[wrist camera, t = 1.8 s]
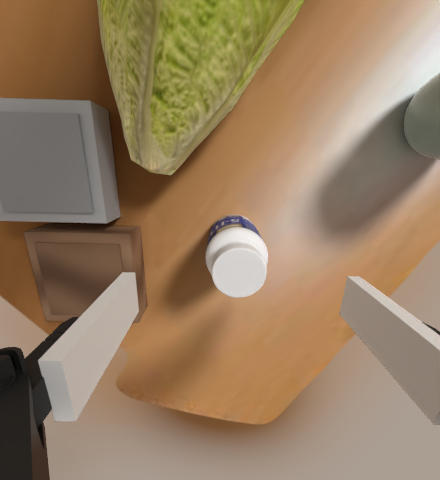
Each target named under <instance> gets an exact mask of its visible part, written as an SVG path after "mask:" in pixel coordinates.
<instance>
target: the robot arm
mask: <svg viewBox="0 0 440 480" xmlns="http://www.w3.org/2000/svg"><path fill="white" fill-rule="evenodd" d="M138 312H139V307H138V296H137V286H136V276H135V272H122V273H121V274H120V275H119V277H118V278H117V279H116V280H115V281H114V282H113V283H112V284H111V285H110V286H109V287H108V288H107V289H106V290H105V291H104V292H103V293H102V294H101V295H100V296H99V297H98V298H97V299H96V301H95V302H94V303H93V304H92V305H91V306H90V307H89V308H88V309H87V310H86V311H85V312H84V313H83V314H82V315H81V316H80V317H72V318H70V319H68V320H67V321H65V322H63V323H62V324H60V325H59V326H58V327H57V328H56V329H55V330H54V331H53V333H52V334H50V335H49V336H48V337H47V338H46V339H45V341H43V342H42V343H41V344H40V345H39V346H38V347H37V348H36V349H35V350H33V351H32V353H30V354H29V355H28V356H27V357H26V358H25V359H24V355H23V352H22V350H21V349H20V348H17V347H8V348H3V349H0V480H50V478H49V469H48V457H47V447H46V437H45V427H44V423H43V421H44V419H45V418H46V416H47V415H48V414H49V412H50V411H51V410H52V414H53V418H54V421H64V422H66V421H67V422H69V421H70V422H76V420H77V418H78V417H79V415H80V413H81V412H82V410H83V408H84V407H85V405H86V403H87V401H88V400H89V398H90V396H91V394H92V392H93V390H94V389H95V387H96V385H97V384H98V382H99V380H100V378H101V377H102V375H103V373H104V372H105V370H106V368H107V366H108V365H109V362H110V361H111V359H112V358H113V356H114V354H115V352H116V351H117V349H118V347H119V345H120V344H121V342H122V340H123V338H124V337H125V335H126V333H127V331H128V330H129V328H130V326H131V324H132V323H133V321H134V319H135V317H136V316H137V314H138ZM340 316H341V317H342V318H343V319H344V320H345V322H346V323H347V324H348V325H349V326H350V327H351V329H352V330H353V331H354V332H355V333H356V334H357V336H358V337H359V338H360V339H361V340H362V341H363V343H364V344H365V345H366V346H367V347H368V348H369V349H370V351H371V352H372V353H373V354H374V355H375V356H376V358H377V359H378V360H379V361H380V362H381V363H382V365H383V366H384V367H385V368H386V369H387V370H388V372H389V373H390V374H391V375H392V376H393V378H394V379H395V380H396V381H397V382H398V383H399V385H400V386H401V387H402V388H403V389H404V390H405V391H406V393H407V394H408V395H409V396H410V397H411V399H412V400H413V401H414V402H415V403H416V404H417V406H418V407H419V408H420V409H421V410H422V412H423V413H424V414H425V415H426V416H427V417H428V418H429V420H430V421H431V422H432V423H433V424H435V425H440V332H439V331H438V330H436V329H435V328H433V327H431V326H429V325H427V324H425V323H423V322H421V321H420V320H418V319H417V318H415V317H414V316H413V315H411V314H410V313H409V312H407V311H406V310H405V309H403V308H402V307H400V306H399V305H398V304H396V303H395V302H393V301H392V300H391V299H390V298H388V297H387V296H385V295H384V294H383V293H381V292H380V291H379V290H377V289H376V288H375V287H373V286H372V285H370V284H369V283H368V282H366V281H365V280H364V279H362V278H361V277H358V276H347V281H346V285H345V290H344V295H343V300H342V304H341V309H340Z"/></svg>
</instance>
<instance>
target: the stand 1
mask: <svg viewBox="0 0 440 480" xmlns="http://www.w3.org/2000/svg"><path fill="white" fill-rule="evenodd" d="M119 217H121V216H120V207H119V198H118V190H117V181H116V173H115V164H114V155H113V147H112V138H111V129H110V121H109V112H108V110H107V109H105V108H103V107H101V106H100V105H98V104H96V103H94V102H92V101H90V100H54V99H18V98H0V221H24V222H68V223H109V222H111V221H113V220H115V219H117V218H119Z"/></svg>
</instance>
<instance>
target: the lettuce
mask: <svg viewBox="0 0 440 480" xmlns="http://www.w3.org/2000/svg"><path fill="white" fill-rule="evenodd" d="M303 2H304V0H97V6H98V16H99V26H100V35H101V44H102V48H103V52H104V57H105V61H106V65H107V70H108V74H109V78H110V83H111V87H112V90H113V93H114V97H115V100H116V104H117V107H118V110H119V114H120V117H121V122H122V128H123V133H124V139H125V142H126V144H127V147H128V150H129V154H130V158H131V160H132V161H134V162H135V163H137V164H138V165H140V166H141V167H143V168H144V169H146V170H147V171H149V172H150V173H157V174H165V175H172V174H173V173H174V172H175V171H176V170H177V169H178V168H179V167H180V166H181V165H182V164H183V163H184V161H185V160H186V159H187V158H188V156H189V155H190V154H191V153H192V152H193V151H194V150H195V148H196V147H197V146H198V145H199V144H200V143H201V142H202V141H203V140H204V139H205V138H206V137H207V136H208V135H209V134H210V133H211V132H212V131H213V129H214V128H215V127H216V126H217V125H218V124H219V123H220V122H221V121H222V120H223V119H224V118H225V117H226V115H227V114H228V113H229V112H230V111H231V110H232V109H233V108H234V106H235V104H236V103H237V101H238V100H239V98H240V97H241V95H242V94H243V92H244V90H245V89H246V87H247V86H248V84H249V83H250V81H251V80H252V78H253V76H254V75H255V73H256V72H257V70H258V69H259V68H260V66H261V65H262V63H263V62H264V61H265V59H266V58H267V56H268V55H269V54H270V52H271V51H272V50H273V48H274V47H275V45H276V44H277V43H278V41H279V40H280V38H281V37H282V36H283V34H284V33H285V32H286V30H287V29H288V27H289V26H290V25H291V23H292V22H293V20H294V19H295V17H296V15H297V13H298V11H299V9H300V8H301V6H302V4H303Z"/></svg>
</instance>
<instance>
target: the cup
mask: <svg viewBox="0 0 440 480" xmlns="http://www.w3.org/2000/svg"><path fill="white" fill-rule="evenodd" d="M404 132H405V136H406V139H407V141H408V143H409V145H410V146H411V147H412V148H413V149H414V150H415V151H416V152H417V153H419V154H421V155H423V156H425V157H428V158H433V159H438V160H440V73H438V74H437V75H436V76H434V77H433V78H432V79H431V80H429V81H428V82H427V83H426V84H425V85H424V86H423V87H421V88H420V90H419V91H418V92H417V93H416V94H415V95H414V97H413V98H412V100H411V101H410V103H409V105H408V107H407V110H406V112H405V117H404Z"/></svg>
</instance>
